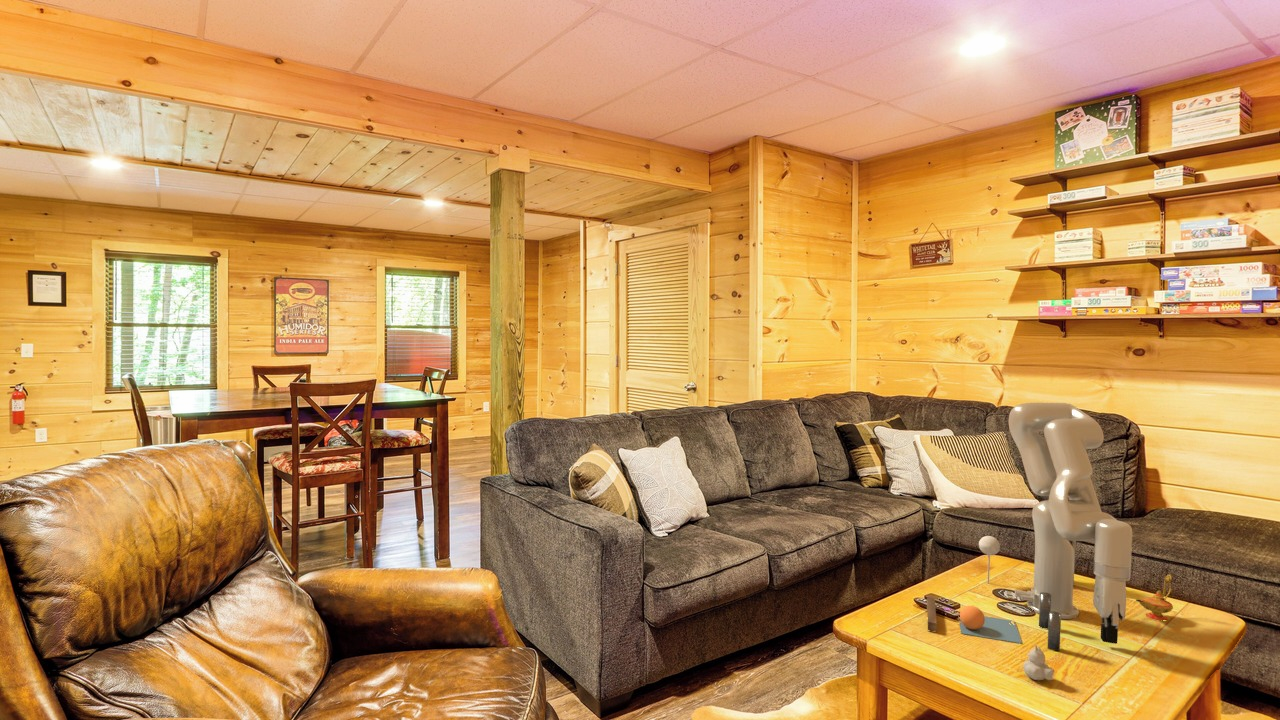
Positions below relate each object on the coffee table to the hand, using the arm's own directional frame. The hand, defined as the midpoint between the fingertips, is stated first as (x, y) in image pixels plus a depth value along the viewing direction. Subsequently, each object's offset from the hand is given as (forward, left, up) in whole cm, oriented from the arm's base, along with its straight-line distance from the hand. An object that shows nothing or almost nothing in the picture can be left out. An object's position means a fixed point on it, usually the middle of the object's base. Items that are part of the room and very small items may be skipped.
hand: (1108, 641), depth 166 cm
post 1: (-13, +7, -2) cm, 15 cm away
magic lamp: (+16, +25, -2) cm, 30 cm away
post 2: (-13, -7, -2) cm, 15 cm away
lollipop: (-24, +35, -2) cm, 42 cm away
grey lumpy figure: (-19, -25, -2) cm, 31 cm away
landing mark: (-27, 0, -2) cm, 27 cm away
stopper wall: (-41, 0, -2) cm, 41 cm away
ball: (-31, -3, +2) cm, 31 cm away
